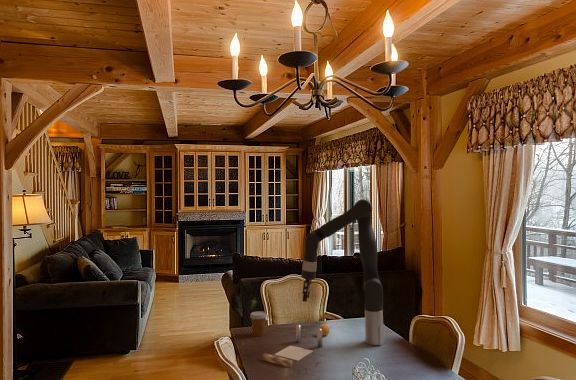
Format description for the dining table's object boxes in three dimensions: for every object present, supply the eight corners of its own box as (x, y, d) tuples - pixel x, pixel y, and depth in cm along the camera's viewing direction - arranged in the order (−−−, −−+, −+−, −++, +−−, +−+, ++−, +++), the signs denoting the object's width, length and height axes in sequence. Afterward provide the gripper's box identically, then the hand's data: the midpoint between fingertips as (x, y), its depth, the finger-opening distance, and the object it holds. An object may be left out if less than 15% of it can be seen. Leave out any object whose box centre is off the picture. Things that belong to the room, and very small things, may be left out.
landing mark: (313, 351, 204) (313, 350, 204) (298, 360, 192) (298, 360, 192) (290, 345, 212) (290, 345, 212) (274, 354, 200) (274, 354, 200)
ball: (331, 334, 227) (331, 323, 228) (326, 337, 223) (325, 326, 223) (322, 332, 231) (321, 322, 231) (316, 336, 226) (316, 325, 226)
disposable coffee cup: (268, 332, 234) (267, 311, 235) (265, 337, 225) (265, 315, 225) (252, 331, 235) (251, 310, 236) (248, 337, 226) (248, 315, 226)
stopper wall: (292, 365, 187) (292, 360, 187) (290, 367, 185) (290, 361, 185) (265, 358, 196) (265, 353, 196) (262, 359, 194) (262, 354, 194)
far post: (301, 341, 218) (301, 324, 218) (299, 343, 215) (298, 326, 216) (297, 340, 219) (297, 323, 219) (295, 342, 217) (294, 325, 217)
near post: (323, 346, 210) (322, 328, 210) (320, 347, 208) (320, 330, 208) (318, 345, 212) (318, 327, 212) (316, 346, 210) (315, 329, 210)
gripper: (314, 272, 211) (310, 303, 211) (317, 268, 225) (314, 297, 225) (300, 270, 213) (296, 301, 213) (304, 266, 227) (301, 295, 227)
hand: (305, 299), depth 219 cm, fingers open, 8 cm apart
